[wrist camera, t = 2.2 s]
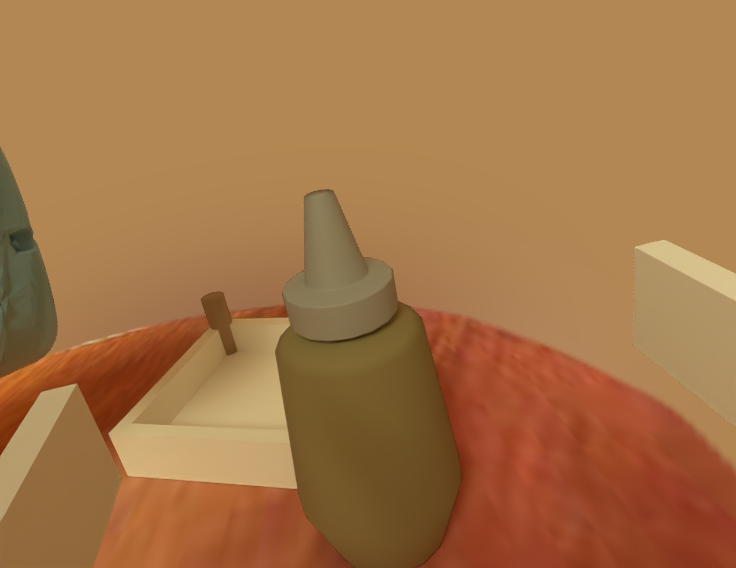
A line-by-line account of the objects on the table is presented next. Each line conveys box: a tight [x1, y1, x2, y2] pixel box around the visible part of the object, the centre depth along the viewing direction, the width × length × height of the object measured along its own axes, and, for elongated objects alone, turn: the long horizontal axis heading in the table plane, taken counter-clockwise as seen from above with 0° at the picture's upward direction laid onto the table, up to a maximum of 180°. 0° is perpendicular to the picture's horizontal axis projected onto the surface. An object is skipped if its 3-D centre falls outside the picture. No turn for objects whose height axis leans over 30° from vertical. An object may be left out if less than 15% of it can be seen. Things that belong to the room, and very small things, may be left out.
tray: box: [108, 292, 297, 489], centre depth 39 cm, size 14×14×6 cm
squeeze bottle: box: [275, 189, 462, 568], centre depth 25 cm, size 8×8×18 cm
